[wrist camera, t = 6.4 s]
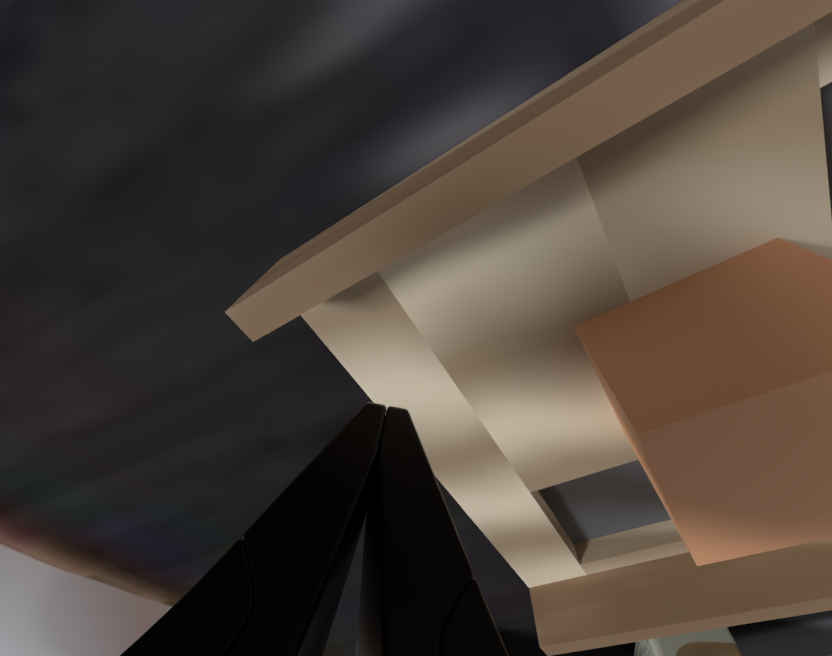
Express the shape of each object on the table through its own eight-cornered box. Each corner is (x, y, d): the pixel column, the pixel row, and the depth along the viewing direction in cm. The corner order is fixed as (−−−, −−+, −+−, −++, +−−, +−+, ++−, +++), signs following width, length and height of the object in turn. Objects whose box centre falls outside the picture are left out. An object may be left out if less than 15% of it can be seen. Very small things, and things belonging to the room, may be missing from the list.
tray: (1086, 441, 14) (1272, 538, 11) (532, 572, 21) (548, 656, 18) (1357, -434, 6) (2482, -1096, 3) (280, 259, 13) (225, 312, 9)
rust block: (800, 381, 12) (964, 509, 8) (627, 438, 14) (697, 566, 10) (776, 238, 10) (984, 321, 6) (574, 326, 12) (637, 435, 8)
